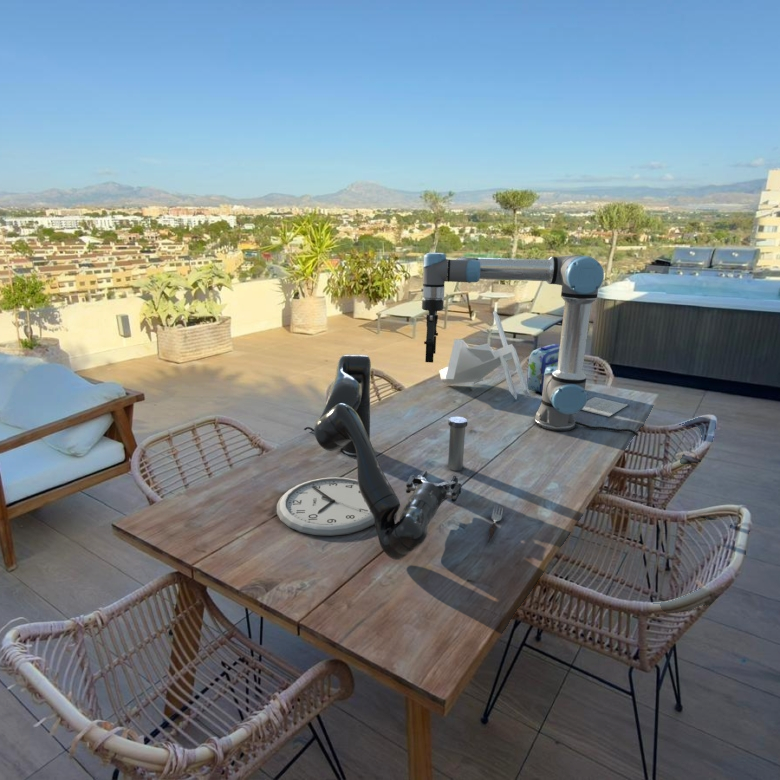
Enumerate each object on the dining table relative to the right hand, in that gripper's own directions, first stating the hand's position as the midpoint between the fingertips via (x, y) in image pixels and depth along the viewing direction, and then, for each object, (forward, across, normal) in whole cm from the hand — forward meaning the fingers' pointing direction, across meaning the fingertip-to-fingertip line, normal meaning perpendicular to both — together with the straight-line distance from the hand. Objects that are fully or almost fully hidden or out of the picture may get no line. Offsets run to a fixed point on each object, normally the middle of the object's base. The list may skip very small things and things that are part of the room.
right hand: (430, 357), depth 189 cm
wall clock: (+28, +61, -22) cm, 70 cm away
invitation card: (+28, -40, +72) cm, 87 cm away
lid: (+12, +31, +11) cm, 35 cm away
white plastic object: (+28, -51, +20) cm, 62 cm away
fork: (+28, +65, +22) cm, 74 cm away
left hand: (+22, +51, +7) cm, 56 cm away
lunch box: (+28, -63, +53) cm, 87 cm away
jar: (+28, +31, +11) cm, 43 cm away
